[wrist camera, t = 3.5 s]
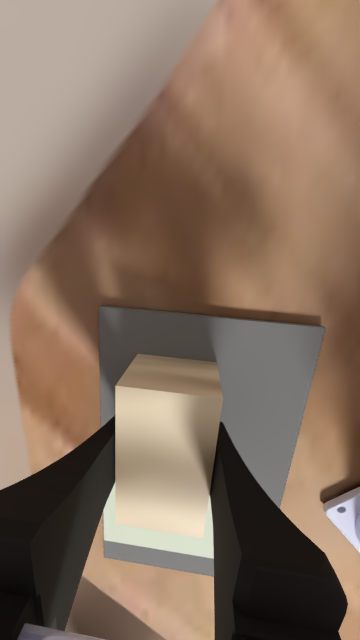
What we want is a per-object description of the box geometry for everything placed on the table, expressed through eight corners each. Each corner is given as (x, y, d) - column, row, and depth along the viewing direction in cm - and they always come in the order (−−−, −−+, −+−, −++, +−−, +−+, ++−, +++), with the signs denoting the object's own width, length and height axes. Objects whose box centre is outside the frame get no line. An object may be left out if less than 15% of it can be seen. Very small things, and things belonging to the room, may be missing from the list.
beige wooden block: (137, 353, 12) (115, 385, 9) (216, 362, 12) (223, 398, 9) (134, 465, 14) (115, 524, 11) (202, 474, 14) (203, 538, 11)
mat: (101, 305, 12) (97, 306, 12) (321, 325, 12) (326, 328, 11) (105, 551, 17) (103, 559, 17) (258, 577, 17) (260, 586, 16)
